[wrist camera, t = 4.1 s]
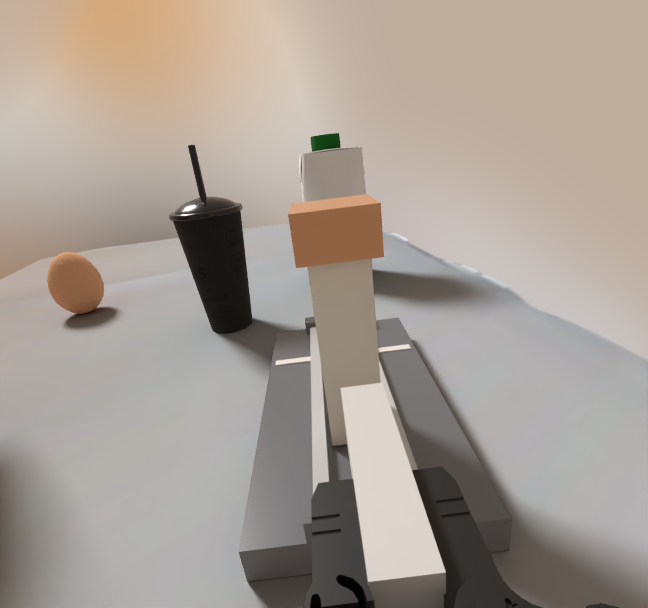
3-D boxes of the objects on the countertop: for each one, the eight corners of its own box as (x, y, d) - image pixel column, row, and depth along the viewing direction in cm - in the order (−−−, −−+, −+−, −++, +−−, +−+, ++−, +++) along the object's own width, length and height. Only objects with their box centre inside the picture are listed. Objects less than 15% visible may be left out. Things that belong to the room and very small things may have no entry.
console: (508, 549, 17) (513, 497, 16) (247, 581, 17) (233, 532, 16) (399, 336, 38) (397, 306, 37) (279, 350, 38) (274, 321, 37)
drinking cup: (221, 311, 50) (183, 149, 43) (273, 311, 48) (242, 140, 40) (186, 337, 43) (133, 151, 36) (245, 340, 41) (201, 140, 34)
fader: (395, 444, 21) (380, 202, 16) (324, 453, 21) (288, 214, 16) (382, 401, 25) (367, 194, 20) (321, 408, 25) (291, 203, 20)
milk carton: (363, 265, 62) (352, 132, 55) (377, 281, 54) (366, 127, 46) (310, 273, 62) (292, 140, 54) (316, 291, 53) (296, 136, 46)
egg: (80, 305, 60) (59, 249, 57) (120, 302, 59) (100, 244, 56) (50, 323, 54) (24, 261, 50) (93, 319, 53) (70, 256, 50)
